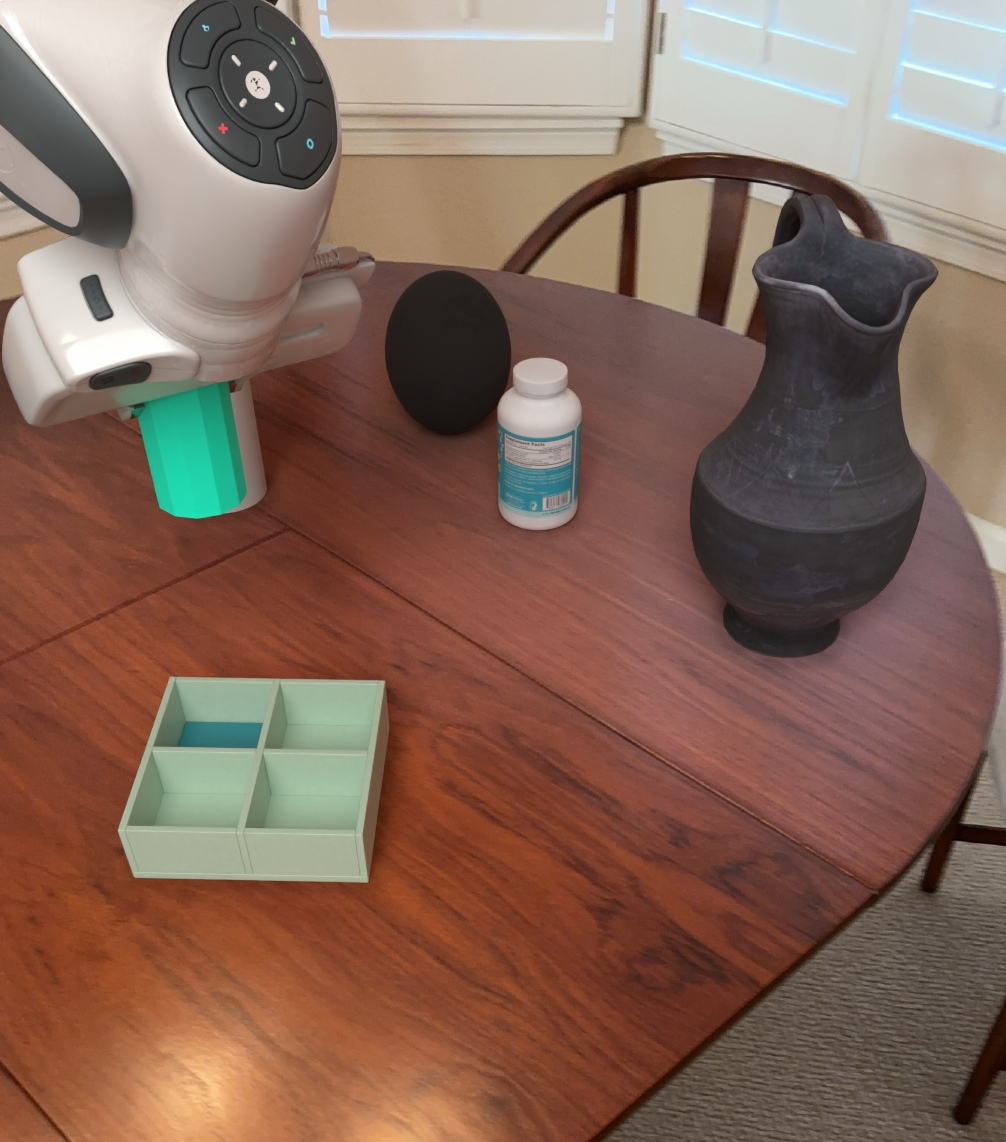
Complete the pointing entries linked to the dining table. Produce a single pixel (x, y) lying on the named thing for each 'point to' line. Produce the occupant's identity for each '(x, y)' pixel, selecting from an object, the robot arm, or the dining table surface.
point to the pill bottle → (539, 446)
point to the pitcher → (815, 440)
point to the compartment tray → (259, 781)
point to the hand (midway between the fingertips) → (176, 394)
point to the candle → (194, 452)
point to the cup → (248, 447)
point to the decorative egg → (448, 351)
